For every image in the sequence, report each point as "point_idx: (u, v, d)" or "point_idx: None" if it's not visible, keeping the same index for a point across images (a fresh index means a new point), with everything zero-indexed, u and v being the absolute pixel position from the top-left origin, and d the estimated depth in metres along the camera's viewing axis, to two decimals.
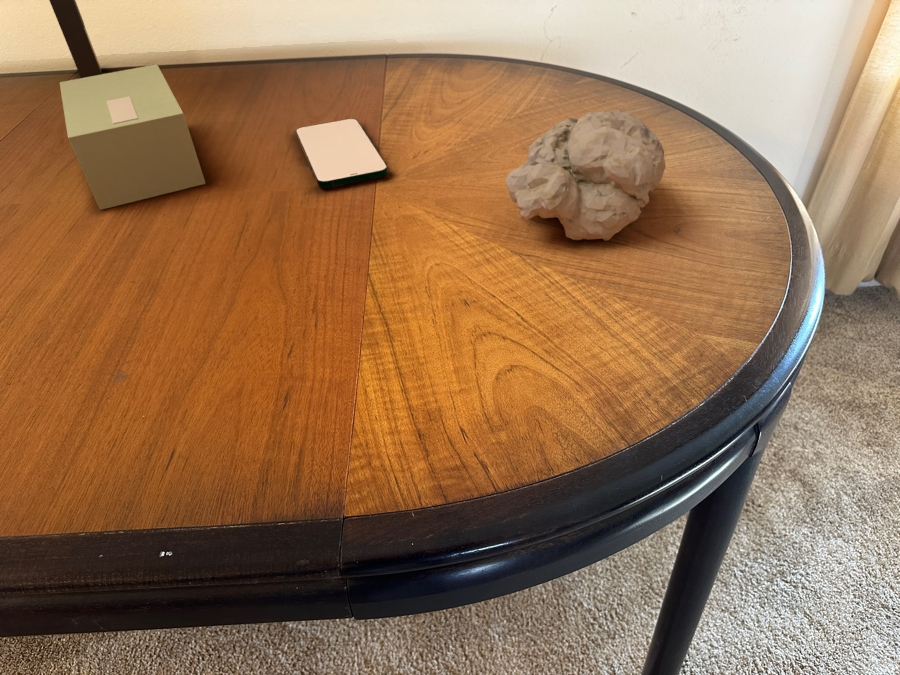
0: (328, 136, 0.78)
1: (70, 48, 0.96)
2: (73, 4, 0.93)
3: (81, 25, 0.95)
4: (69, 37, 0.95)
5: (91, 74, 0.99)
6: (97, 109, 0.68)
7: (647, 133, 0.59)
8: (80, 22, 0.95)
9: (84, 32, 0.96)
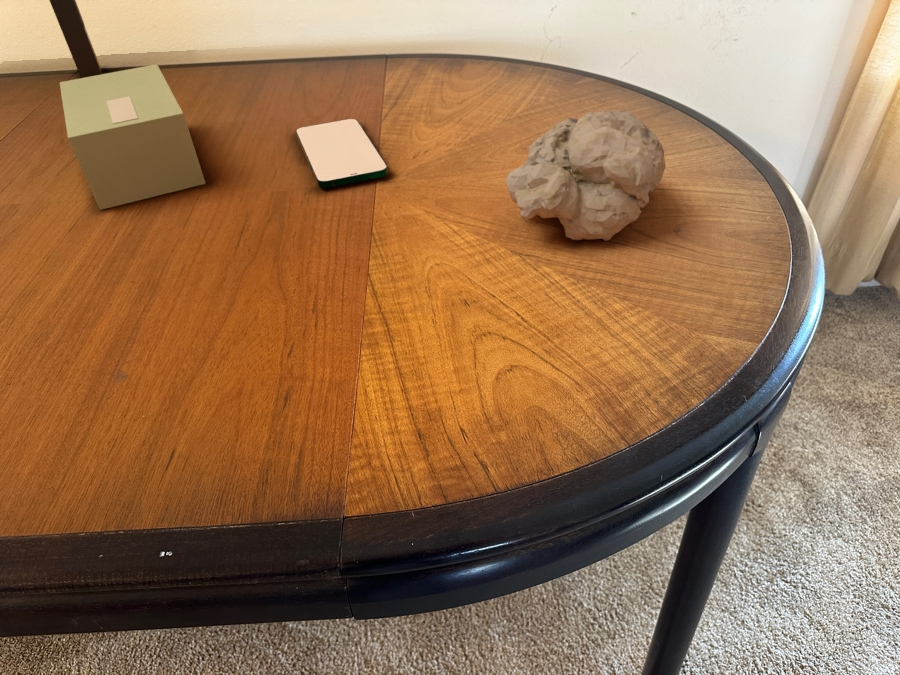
0: (328, 135, 0.78)
1: (70, 48, 0.96)
2: (73, 4, 0.93)
3: (81, 25, 0.95)
4: (70, 37, 0.95)
5: (91, 74, 0.99)
6: (97, 109, 0.68)
7: (647, 133, 0.59)
8: (80, 22, 0.95)
9: (84, 32, 0.96)
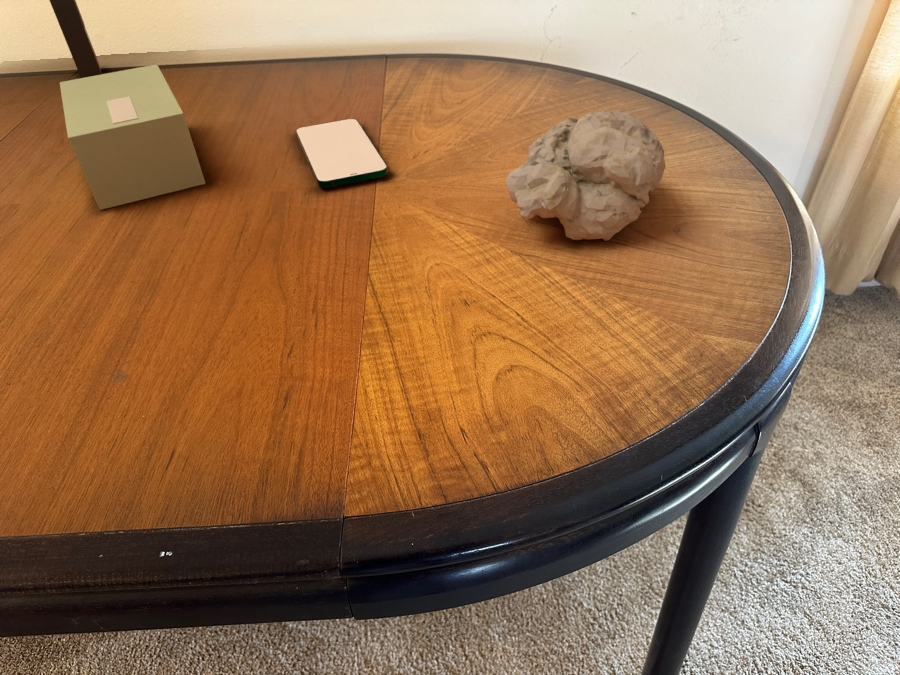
0: (328, 135, 0.78)
1: (70, 48, 0.96)
2: (73, 4, 0.93)
3: (81, 25, 0.95)
4: (69, 37, 0.95)
5: (91, 74, 0.99)
6: (97, 109, 0.68)
7: (647, 133, 0.59)
8: (80, 22, 0.95)
9: (84, 32, 0.96)
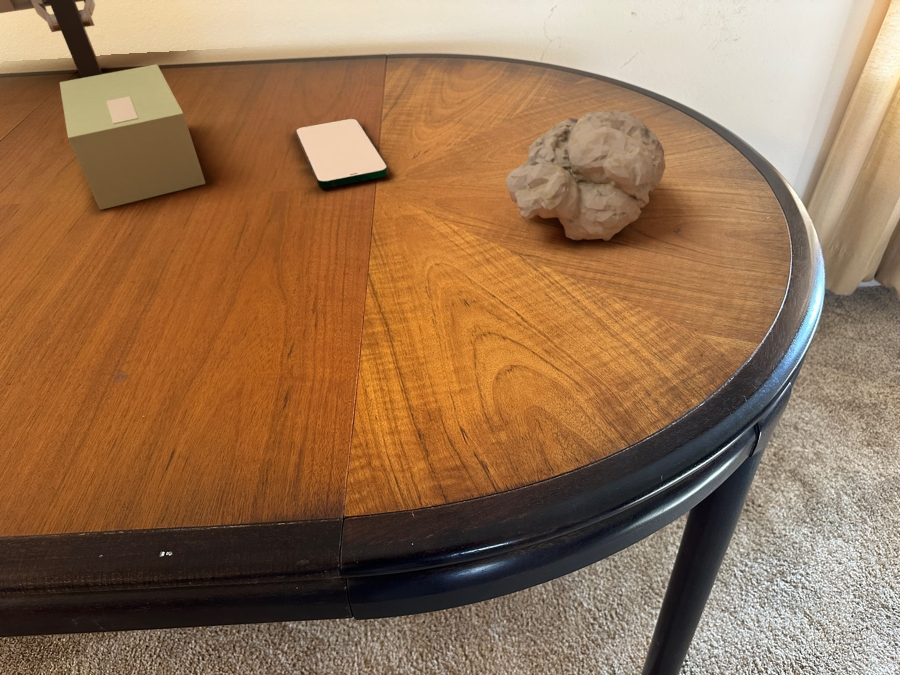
0: (328, 135, 0.78)
1: (70, 48, 0.96)
2: (72, 4, 0.93)
3: (80, 25, 0.95)
4: (69, 37, 0.95)
5: (91, 74, 0.99)
6: (97, 109, 0.68)
7: (647, 133, 0.59)
8: (79, 22, 0.95)
9: (84, 32, 0.96)
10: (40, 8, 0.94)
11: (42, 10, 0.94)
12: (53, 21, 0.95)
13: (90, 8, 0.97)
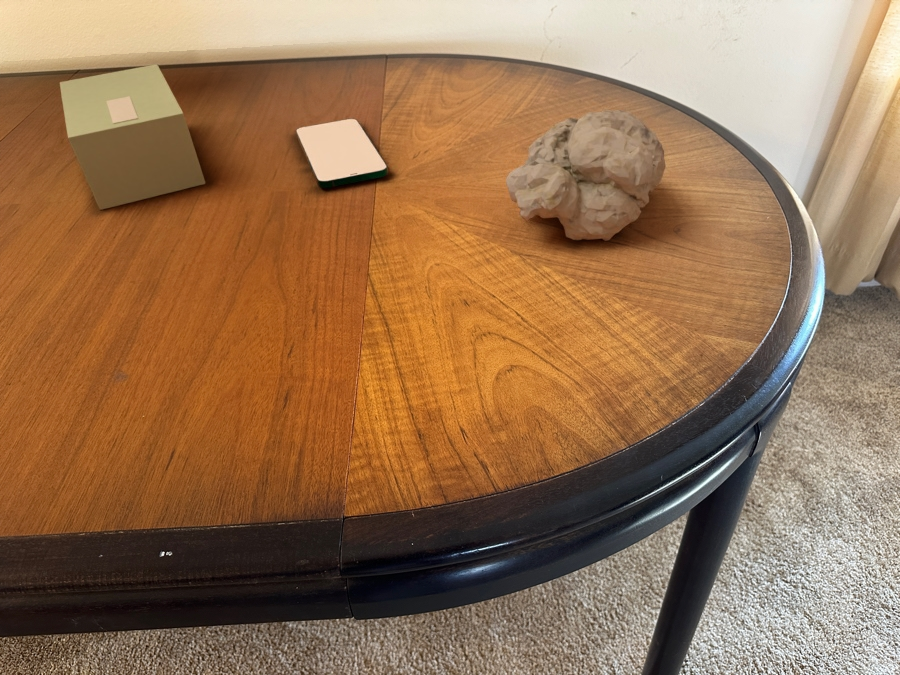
0: (328, 135, 0.78)
1: None
2: None
3: None
4: None
5: None
6: (97, 109, 0.68)
7: (647, 133, 0.59)
8: None
9: None
10: None
11: None
12: None
13: None
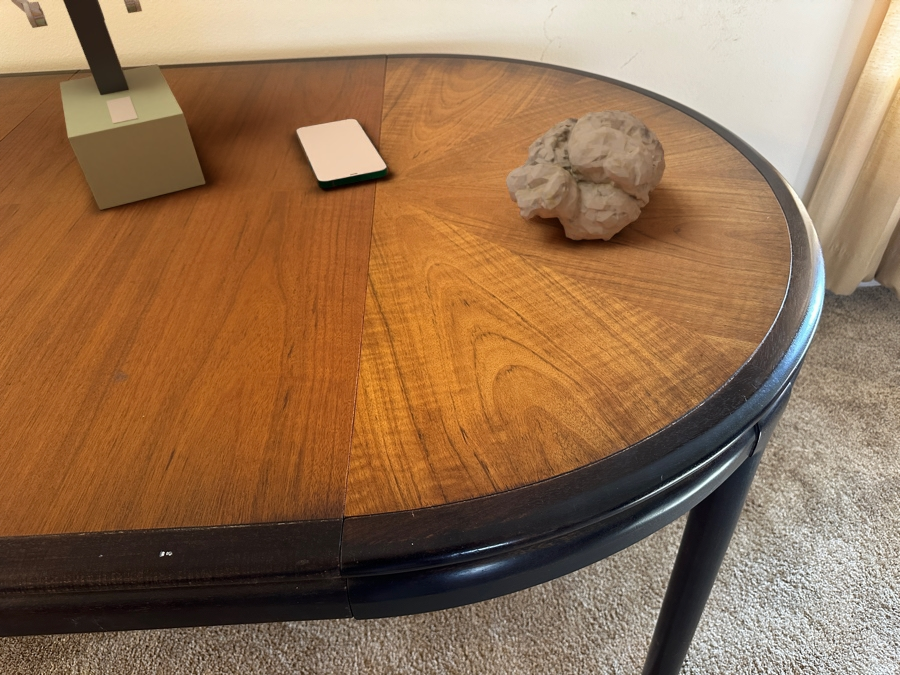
0: (328, 135, 0.78)
1: (84, 49, 0.68)
2: None
3: (100, 16, 0.67)
4: (84, 33, 0.68)
5: (113, 85, 0.71)
6: (97, 109, 0.68)
7: (647, 133, 0.59)
8: (99, 12, 0.67)
9: (104, 26, 0.68)
10: None
11: None
12: (34, 12, 0.66)
13: None
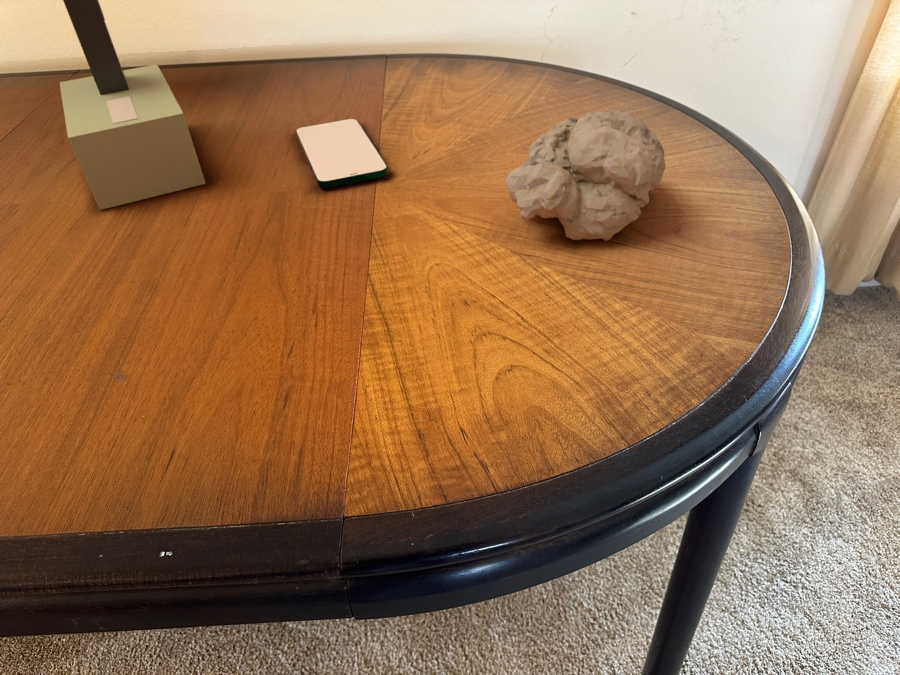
0: (328, 135, 0.78)
1: (84, 49, 0.68)
2: None
3: (100, 16, 0.67)
4: (84, 33, 0.68)
5: (113, 85, 0.71)
6: (97, 109, 0.68)
7: (647, 133, 0.59)
8: (99, 12, 0.67)
9: (104, 26, 0.68)
10: None
11: None
12: None
13: None
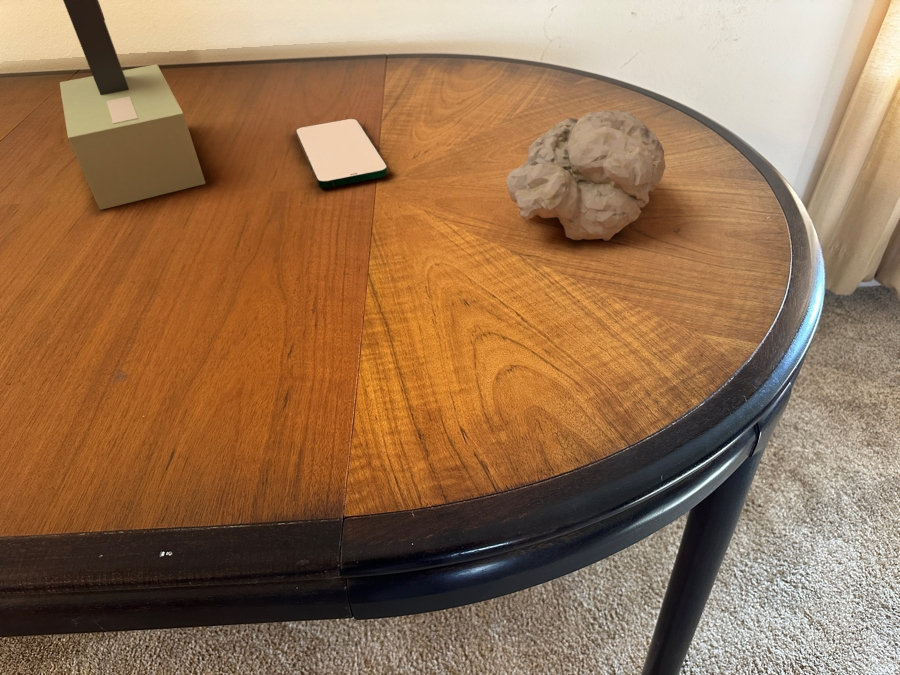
0: (328, 135, 0.78)
1: (84, 49, 0.68)
2: None
3: (100, 16, 0.67)
4: (84, 33, 0.68)
5: (113, 85, 0.71)
6: (97, 109, 0.68)
7: (647, 133, 0.59)
8: (99, 12, 0.67)
9: (104, 26, 0.68)
10: None
11: None
12: None
13: None
